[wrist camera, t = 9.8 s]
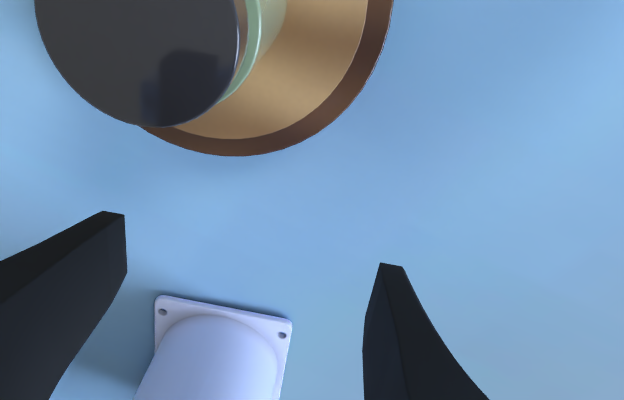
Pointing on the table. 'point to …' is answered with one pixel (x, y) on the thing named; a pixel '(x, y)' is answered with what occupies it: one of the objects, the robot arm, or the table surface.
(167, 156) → the table surface
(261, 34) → the jar
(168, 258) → the table surface
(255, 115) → the stand
